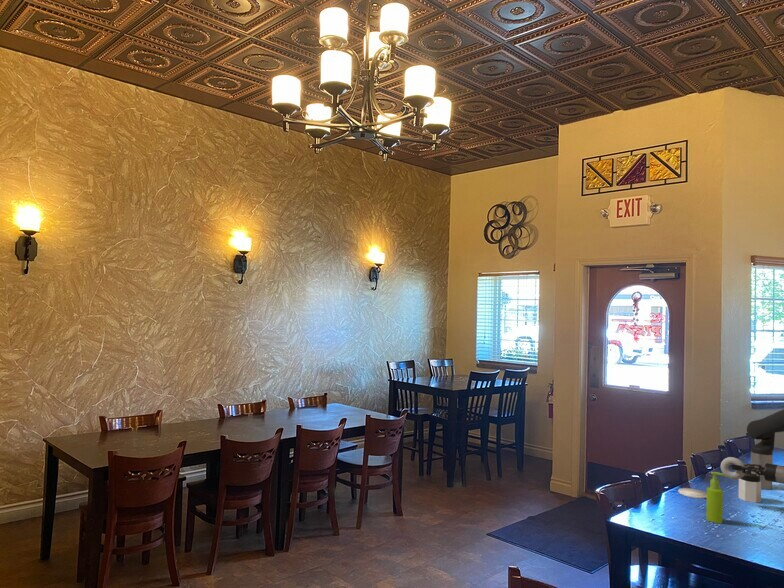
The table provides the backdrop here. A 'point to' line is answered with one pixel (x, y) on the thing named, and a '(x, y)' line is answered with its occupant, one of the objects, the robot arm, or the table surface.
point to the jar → (750, 488)
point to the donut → (727, 472)
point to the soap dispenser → (714, 500)
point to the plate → (693, 493)
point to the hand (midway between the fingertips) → (733, 466)
